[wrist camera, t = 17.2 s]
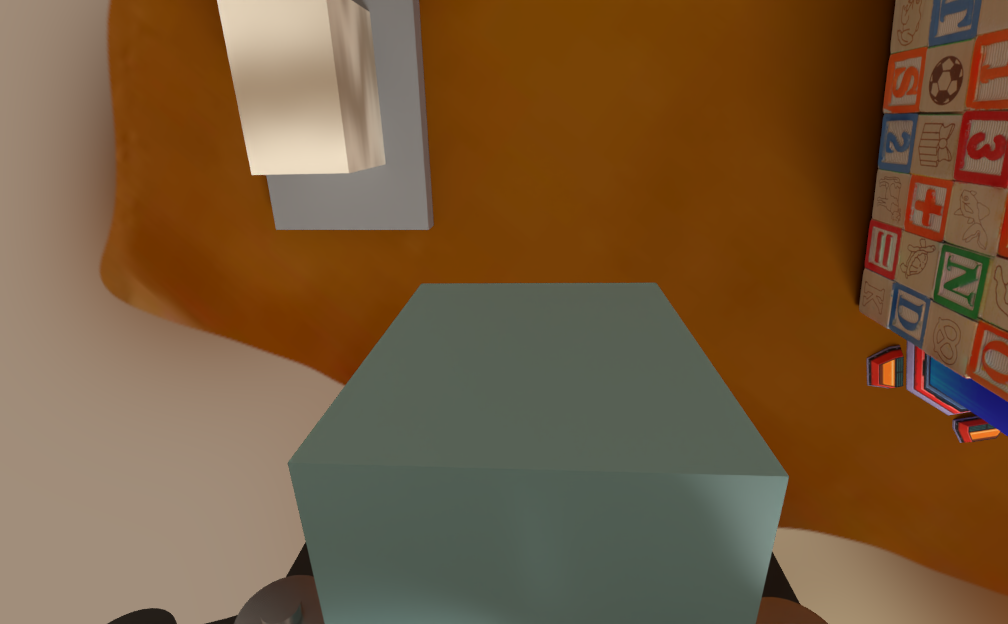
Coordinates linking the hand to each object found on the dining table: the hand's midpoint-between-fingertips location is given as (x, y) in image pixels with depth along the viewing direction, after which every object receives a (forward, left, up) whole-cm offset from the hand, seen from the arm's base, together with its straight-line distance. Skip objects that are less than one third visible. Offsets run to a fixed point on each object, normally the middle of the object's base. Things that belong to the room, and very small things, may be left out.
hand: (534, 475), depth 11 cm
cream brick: (-9, -12, -22) cm, 26 cm away
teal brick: (0, 0, -1) cm, 1 cm away
